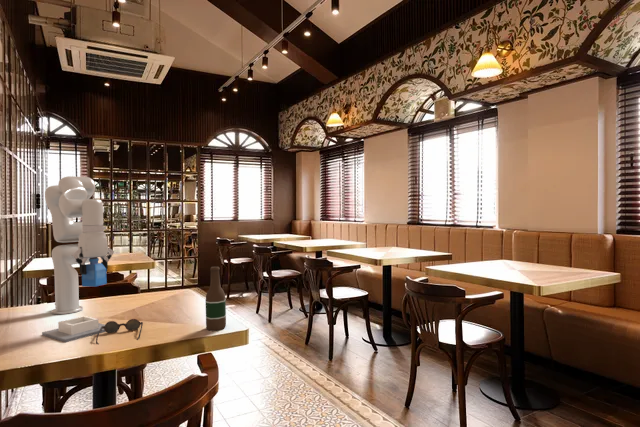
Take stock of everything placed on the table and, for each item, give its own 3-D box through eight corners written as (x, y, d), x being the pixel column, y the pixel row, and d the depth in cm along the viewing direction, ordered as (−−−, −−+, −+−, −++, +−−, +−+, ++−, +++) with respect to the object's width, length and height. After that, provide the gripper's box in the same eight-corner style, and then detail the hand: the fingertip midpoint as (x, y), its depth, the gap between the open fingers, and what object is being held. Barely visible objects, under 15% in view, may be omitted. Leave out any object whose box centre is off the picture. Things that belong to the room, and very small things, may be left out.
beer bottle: (208, 332, 153) (206, 268, 153) (204, 327, 160) (202, 266, 160) (228, 329, 157) (227, 267, 157) (223, 324, 164) (222, 265, 164)
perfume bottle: (95, 286, 161) (95, 256, 161) (82, 286, 162) (81, 256, 162) (106, 283, 167) (105, 254, 167) (93, 283, 168) (92, 254, 168)
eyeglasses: (143, 329, 160) (142, 317, 160) (140, 340, 146) (140, 327, 146) (101, 334, 155) (101, 321, 155) (94, 346, 141) (94, 332, 141)
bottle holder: (42, 334, 155) (41, 323, 154) (90, 323, 170) (89, 312, 170) (65, 342, 145) (65, 329, 145) (114, 329, 160) (113, 318, 160)
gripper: (108, 228, 173) (109, 269, 173) (65, 230, 159) (66, 275, 159) (118, 228, 170) (119, 270, 170) (75, 230, 155) (77, 276, 155)
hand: (94, 272), depth 164 cm, fingers closed on perfume bottle, 8 cm apart
